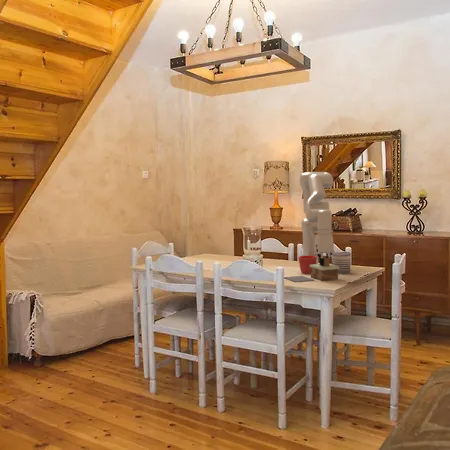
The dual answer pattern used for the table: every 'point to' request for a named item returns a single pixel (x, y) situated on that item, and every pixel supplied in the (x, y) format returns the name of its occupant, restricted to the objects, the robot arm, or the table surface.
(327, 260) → the lid
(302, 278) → the mat
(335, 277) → the box
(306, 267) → the flower pot
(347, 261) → the can
